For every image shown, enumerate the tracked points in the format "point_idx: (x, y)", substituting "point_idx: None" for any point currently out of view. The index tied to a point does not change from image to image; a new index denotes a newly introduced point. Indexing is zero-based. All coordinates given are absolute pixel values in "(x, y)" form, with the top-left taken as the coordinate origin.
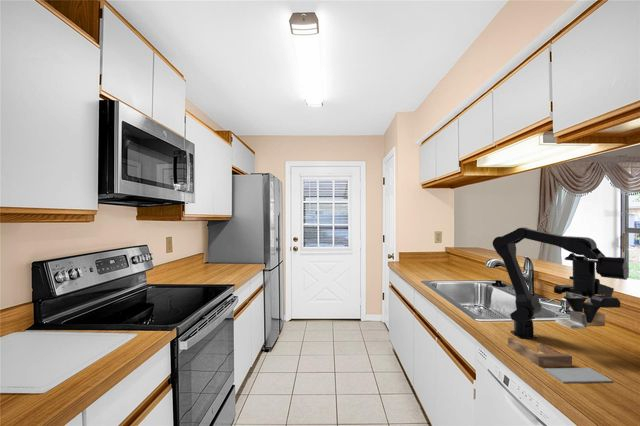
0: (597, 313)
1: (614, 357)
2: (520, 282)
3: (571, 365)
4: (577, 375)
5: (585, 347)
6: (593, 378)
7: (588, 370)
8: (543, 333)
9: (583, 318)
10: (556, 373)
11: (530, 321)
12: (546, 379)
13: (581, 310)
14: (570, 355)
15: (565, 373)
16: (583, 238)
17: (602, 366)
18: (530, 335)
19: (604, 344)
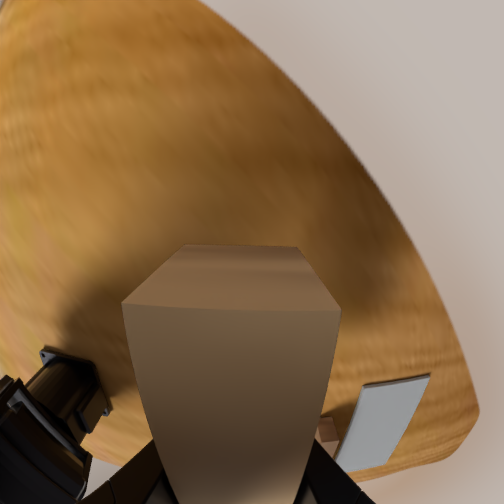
0: (275, 405)
1: (295, 188)
2: None
3: (331, 418)
4: (381, 435)
5: (172, 229)
6: (405, 413)
7: (375, 401)
8: (38, 289)
9: None
10: (357, 464)
11: (60, 422)
12: (361, 477)
13: (162, 493)
14: (333, 441)
15: (364, 451)
16: None
17: (360, 329)
18: (101, 399)
19: (146, 93)
